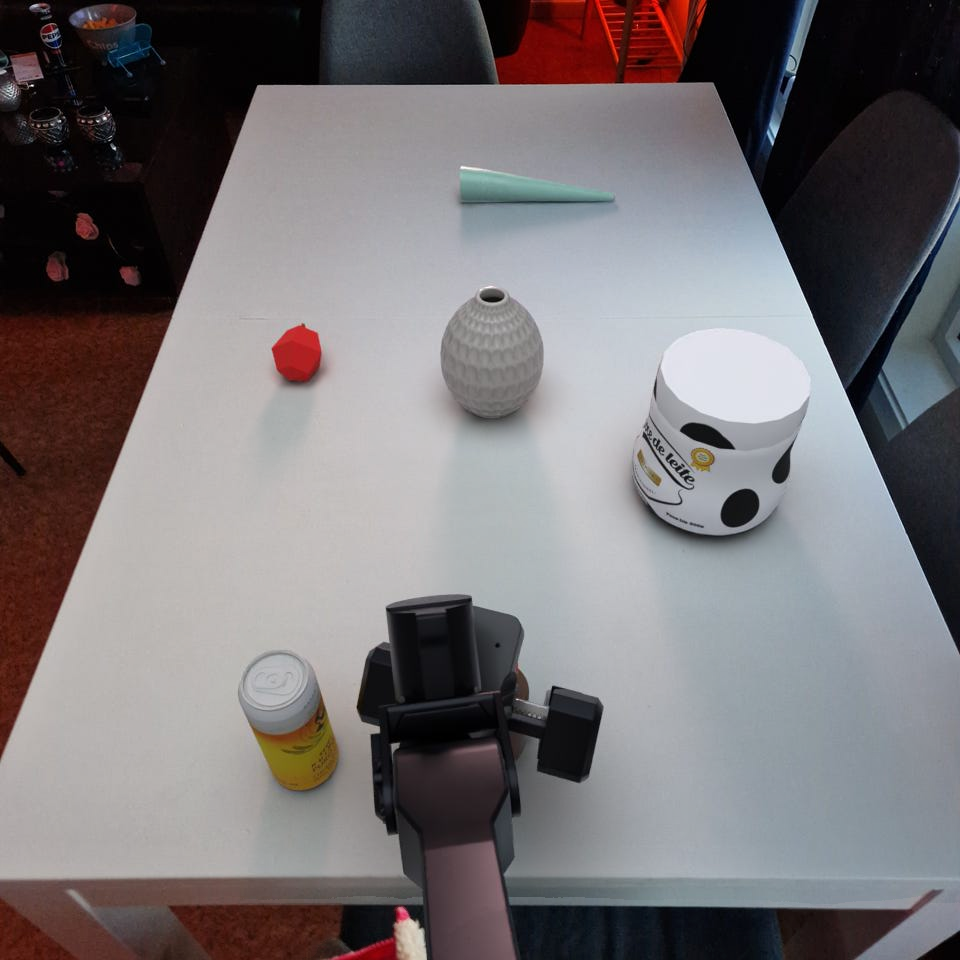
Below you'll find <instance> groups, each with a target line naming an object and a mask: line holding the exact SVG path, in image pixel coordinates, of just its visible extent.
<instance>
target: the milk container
mask: <svg viewBox="0 0 960 960" xmlns="http://www.w3.org/2000/svg"><path fill="white" fill-rule="evenodd" d="M810 394H811V376H810V375H809V373H808V370H807V367H806V366H805V364H804V362H803V361H802V360H801V359H800V358H799V357H798V356H796V354H795V353H794V352H792V351H791V350H790V349H789V348H788V347H787V346H785V345H783V344H781V343H780V342H777V341H776V340H773V339H771V338H770V337H768V336H766V335H762V334H759V333H755V332H751V331H747V330H745V329H737V328H723V327H715V328H707V329H700V330H694V331H693V332H690V333H688V334H686V335H683V336H681V337H678V338H677V339H675V340H674V341H673V343H672V344H670V346H669V347H668V348H666V349H665V350H664V352H663V354H662V356H661V359H660V362H659V364H658V368H657V372H656V376H655V379H654V385H653V388H652V392H651V398H650V403H649V410H648V414H647V415H648V416H647V418H646V419H645V421H644V422H643V424H642V426H641V428H640V430H639V432H638V433H637V436H636V438H635V442H634V444H633V449H632V455H631V469H632V478H633V484H634V487H635V489H636V491H637V493H638V495H639V496H640V499H641V500H642V501H643V503H644V504H645V506H646V507H647V508H648V509H649V510H650V511H651V512H652V513H653V514H654V515H656V516H657V517H659V518H660V519H661V520H663V521H664V522H666V523H667V524H668V525H671V526H673V527H675V528H677V529H680V530H683V531H686V532H688V533H691V534H696V535H703V536H713V537H722V536H724V537H725V536H730V535H736V534H741V533H743V532H746V531H749V530H751V529H753V528H754V527H757V526H758V525H760V524H761V523H762V522H764V521H765V520H766V519H767V518H769V516H770V515H771V514H772V513H773V511H774V510H775V509H776V507H777V506H778V505H779V503H780V502H781V500H782V498H783V497H784V494H785V492H786V490H787V487H788V484H789V480H790V476H791V452H792V449H793V447H794V444H795V443H796V440H797V437H798V435H799V433H800V431H801V428H802V425H803V420H804V419H805V417H806V415H807V412H808V408H809V403H810V396H811V395H810Z"/></svg>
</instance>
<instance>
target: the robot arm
mask: <svg viewBox="0 0 960 960" xmlns="http://www.w3.org/2000/svg"><path fill="white" fill-rule="evenodd" d="M385 612H386V613H385V615H386V623H387V624H386V625H387V634H388V642H387V641H383V642H381V643H380V644H378V645H377V646H374V647H373V648H371V649H370V650H369V651H368V654H367V655H366V658H365V661H364V666H363V671H362V677H361V682H360V687H359V691H358V697H357V701H356V707H355V709H356V712H357V714H358V717H359V719H360V721H361V722H362V723H365V724H368V725H372V726H375V727H379V732H377V733H369V734H370V751H371V752H370V753H371V773H372V793H373V807H374V808H373V809H374V814H375V816H376V817H377V818H378V819H379V820H380V821H381V822H382V823H383V825H385V829H386V834H387V836H389V837H390V836H395V835H398V841H399V843H398V844H399V849H400V858H401V865H402V873H403V875H404V876H405V877H406V878H407V879H409V880H410V881H411V882H413V883H414V885H416V887H418V888H420V890H421V892H422V907H423V908H422V909H423V923H424V924H423V925H424V938H425V953H426V960H521V959H522V957H521V954H520V948H519V944H518V938H517V933H516V928H515V923H514V919H513V913H512V907H511V904H510V898H509V894H508V888H507V885H506V884H507V883H506V878H505V873H506V872H507V870H508V869H509V867H510V866H511V864H512V863H513V862H514V860H515V857H516V853H515V842H514V828H513V818H519V817H521V816H522V803H521V792H520V784H519V778H518V772H517V766H516V761H514V756H513V750H512V745H511V740H510V735H509V731H512V732H515V733H519V734H523V735H526V737H531V738H535V739H538V746H537V757H536V759H537V764H536V772H538V773H541V774H545V775H548V776H552V777H554V778H555V777H556V778H559V779H562V780H566V781H569V782H573V783H576V784H580V785H581V783H583V782H584V781H586V780H587V779H589V778H590V773H591V769H592V764H593V761H594V760H593V759H594V755H595V750H596V745H597V742H598V741H597V740H598V735H599V731H600V726H601V722H602V718H603V713H604V708H605V706H604V704H603V703H602V701H601V699H600V698H599V697H597V696H594V695H589V694H587V693H583V692H580V691H577V690H574V689H569V688H565V687H561V686H557V685H553V684H552V685H551V688H550V689H547V690H546V692H545V696H544V700H543V704H540V703H535V702H532V701H530V700H529V701H525V700H521V699H517V695H518V690H519V684H516V683H517V678H518V676H517V674H516V673H515V670H516V666H517V662H518V663H519V658H520V654H521V649H522V646H523V642H524V639H525V630H524V627H523V625H522V623H521V621H520V619H518V618H517V617H516V616H514V615H512V614H509V613H505V612H501V611H497V610H494V609H489V608H485V607H481V606H477V605H473V596H472V595H469V594H463V593H461V594H460V593H455V594H451V593H450V594H449V593H448V594H436V595H426V596H420V597H414V598H408V599H407V598H406V599H403V600H399V601H395V602H391V603H389V604H387V605H385ZM514 709H516V712H513V710H514ZM519 710H521V713H518V712H519ZM524 711H525V712H526V715H524V714H523V713H524ZM529 714H530V715H529ZM534 715H535V716H534ZM539 717H540V718H539ZM395 744H399V745H398V747H397V748H395V749H394V750H393V748H392V745H395Z"/></svg>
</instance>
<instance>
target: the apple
mask: <svg viewBox="0 0 960 960" xmlns="http://www.w3.org/2000/svg"><path fill="white" fill-rule="evenodd" d="M321 346H322V345H321V342H320V337H319V332H317V331H314V330H312V329H310V328H307V327H306V324H305V323H304V322H302V323H301V324H298V325H296V326H294V327H291V328H289V329H287V330H286V331H285V332H284V333H283V334H282V336H280V338H279V339H278V340H277V341H276V342H275V344H274V345H272V347H271V352H272V357H273V360H274V364H275V368H276V371H277V372H278V373H279V374H280V375H282V376H283V377H284V378H285V379H286V380H287V381H291V382H292V381H294V382H304V383H308V382H309V380H310V379H311V378H312V377H313V376H314V374H315V373H316V372H317V371H318V370H319V369H320V366H321V360H322V351H323V350H322V347H321Z"/></svg>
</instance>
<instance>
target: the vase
mask: <svg viewBox="0 0 960 960" xmlns="http://www.w3.org/2000/svg"><path fill="white" fill-rule="evenodd" d="M440 344H441V345H440V353H439V354H440V355H439V357H440V368H441V374H442V377H443V380H444V382H445V385H446V387H447V389H448V391H449V392H450V394H451V395H452V396H453V398H454V399H455V400H456V402H458V403H459V404H460V405H461V407H462V408H464V409H465V410H467V411H468V412H470V413H472V414H474V415H476V416H478V417H481V418H484V419H499V418H503V417H506V416H508V415H510V414H512V413H514V412H515V411H517V410H519V409H520V408H521V407H522V406H523V405H525V403H526V402H528V400H529V399H530V398H531V396H532V395H533V394H534V392H535V391H536V389H537V387H538V386H539V385H538V384H539V382H540V379H541V378H542V374H543V368H544V358H545V357H544V356H545V355H544V353H545V349H544V342H543V338H542V335H541V331H540V329H539V326H538V325H537V323H536V321H535V319H534V317H533V316H532V314H531V313H530V312H529V311H528V309H527V308H526V307H525V306H524V305H523V304H522V303H520V302H519V301H517V299H515V298H514V297H511V295H510V294H509V292H508V291H507V290H506V289H505V288H502V287H499V286H494V285H493V286H485V287H482V288H480V289H478V290H477V291H476V293H475V295H474V296H472V297H471V298H469V299H468V300H466V301H465V302H464V303H462V304H461V305H460V307H459V308H458V309H457V310H456V311H455V312H454V313H453V315H452V316H451V318H450V320H449V321H448V323H447V325H446V327H445V329H444V332H443V335H442V338H441V343H440Z"/></svg>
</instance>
